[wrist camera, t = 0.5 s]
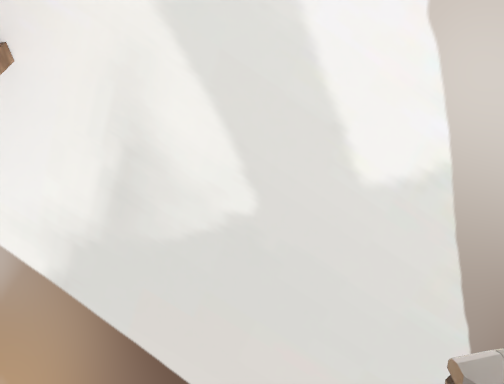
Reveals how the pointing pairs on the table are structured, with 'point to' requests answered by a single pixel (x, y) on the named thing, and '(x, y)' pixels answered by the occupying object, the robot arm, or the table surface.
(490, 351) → the robot arm
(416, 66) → the table surface
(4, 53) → the brown stool
